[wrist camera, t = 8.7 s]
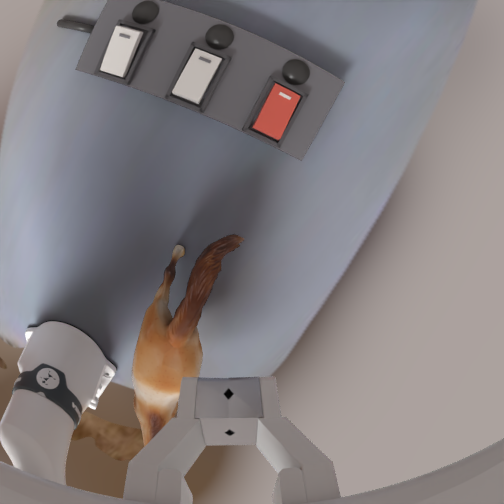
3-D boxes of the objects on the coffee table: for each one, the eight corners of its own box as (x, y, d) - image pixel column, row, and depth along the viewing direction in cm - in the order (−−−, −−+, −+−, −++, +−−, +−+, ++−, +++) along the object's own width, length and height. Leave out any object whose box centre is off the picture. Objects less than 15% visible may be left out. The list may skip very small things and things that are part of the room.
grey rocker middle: (198, 105, 28) (198, 102, 27) (173, 94, 27) (171, 91, 26) (221, 62, 27) (221, 58, 26) (195, 53, 26) (195, 48, 25)
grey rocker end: (128, 75, 27) (122, 77, 25) (106, 68, 26) (99, 70, 25) (145, 32, 24) (139, 32, 23) (122, 25, 23) (115, 25, 22)
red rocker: (276, 140, 30) (280, 138, 29) (251, 128, 29) (254, 125, 28) (296, 99, 29) (300, 96, 28) (271, 86, 29) (275, 82, 27)
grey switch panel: (296, 155, 35) (303, 162, 31) (44, 59, 26) (27, 58, 23) (336, 82, 31) (348, 82, 27) (77, -12, 22) (63, -20, 19)
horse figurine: (179, 375, 51) (168, 481, 33) (137, 363, 49) (113, 468, 31) (243, 217, 38) (256, 337, 20) (183, 197, 36) (139, 304, 18)
